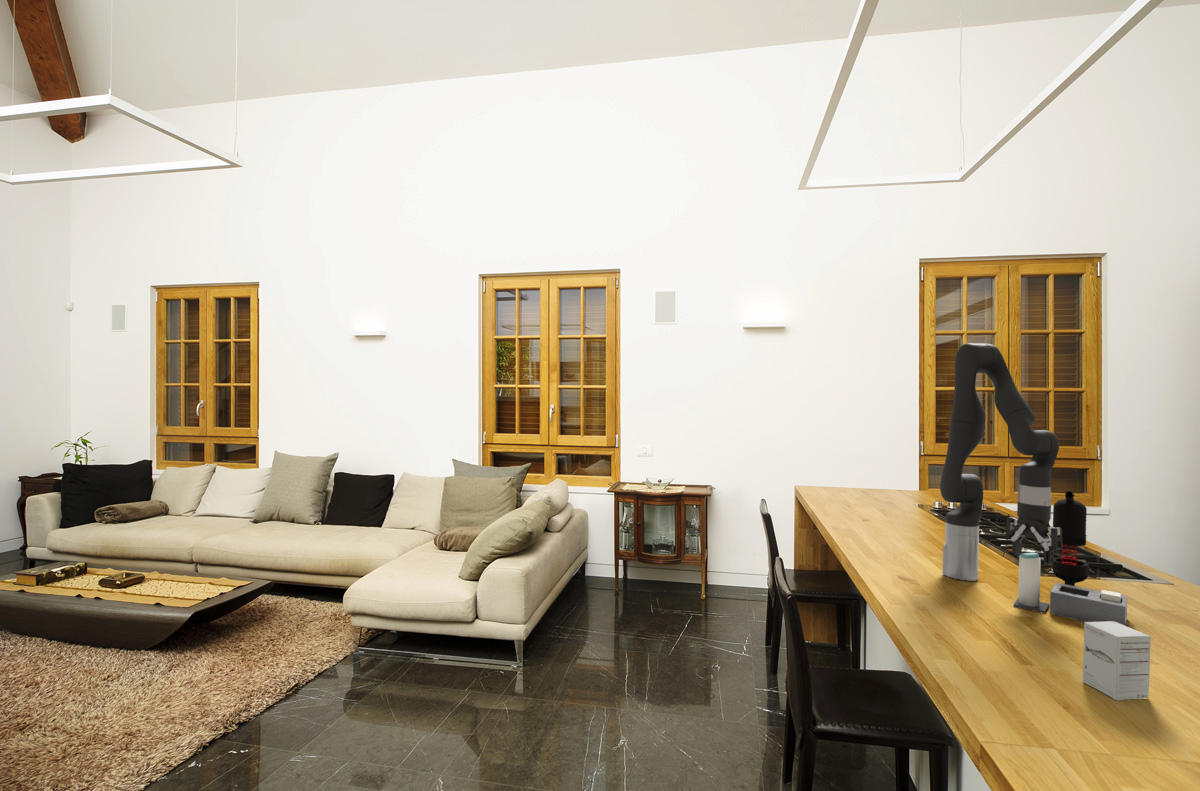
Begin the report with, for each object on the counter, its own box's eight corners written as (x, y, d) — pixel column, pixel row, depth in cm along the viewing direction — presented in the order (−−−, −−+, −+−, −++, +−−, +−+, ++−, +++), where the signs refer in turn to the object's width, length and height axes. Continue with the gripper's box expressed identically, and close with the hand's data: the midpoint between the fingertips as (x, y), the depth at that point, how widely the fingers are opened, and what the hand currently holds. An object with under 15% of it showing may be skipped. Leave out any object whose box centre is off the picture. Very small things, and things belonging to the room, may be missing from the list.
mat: (1013, 606, 162) (1013, 604, 162) (1018, 599, 168) (1018, 597, 168) (1045, 613, 157) (1045, 611, 157) (1049, 605, 163) (1049, 603, 163)
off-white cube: (1100, 612, 152) (1100, 593, 152) (1101, 608, 155) (1102, 589, 155) (1119, 616, 149) (1120, 596, 149) (1120, 612, 152) (1121, 593, 152)
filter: (1087, 594, 173) (1090, 493, 173) (1049, 586, 179) (1051, 489, 179) (1089, 583, 183) (1091, 488, 183) (1053, 576, 189) (1055, 484, 189)
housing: (1049, 613, 157) (1050, 591, 156) (1055, 603, 164) (1055, 582, 164) (1124, 630, 146) (1125, 606, 146) (1126, 618, 154) (1127, 596, 154)
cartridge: (1030, 607, 159) (1031, 556, 159) (1014, 601, 164) (1015, 552, 164) (1043, 605, 161) (1045, 555, 161) (1027, 599, 165) (1028, 550, 165)
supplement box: (1080, 682, 119) (1082, 621, 119) (1114, 681, 120) (1115, 620, 120) (1115, 701, 112) (1117, 636, 112) (1150, 700, 113) (1152, 635, 112)
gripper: (999, 497, 168) (998, 552, 168) (1050, 507, 154) (1048, 568, 154) (1019, 496, 170) (1017, 551, 170) (1071, 506, 156) (1069, 566, 156)
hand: (1032, 559), depth 162 cm, fingers open, 8 cm apart
